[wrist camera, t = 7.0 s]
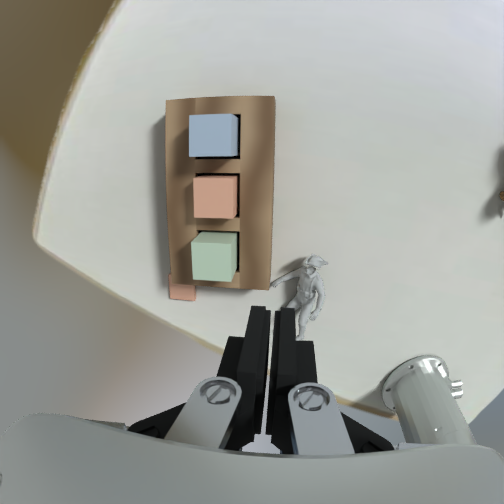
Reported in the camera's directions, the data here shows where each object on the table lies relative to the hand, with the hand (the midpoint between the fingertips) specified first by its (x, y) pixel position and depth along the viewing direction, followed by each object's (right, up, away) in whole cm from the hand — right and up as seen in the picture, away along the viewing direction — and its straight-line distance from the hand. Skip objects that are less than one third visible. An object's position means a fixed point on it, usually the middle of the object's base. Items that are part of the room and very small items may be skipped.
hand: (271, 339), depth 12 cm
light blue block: (-4, +16, +22) cm, 27 cm away
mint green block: (-5, +4, +26) cm, 26 cm away
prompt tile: (-10, -1, +30) cm, 32 cm away
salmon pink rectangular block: (-4, +11, +25) cm, 27 cm away
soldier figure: (+6, -2, +29) cm, 30 cm away
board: (-4, +11, +26) cm, 28 cm away
